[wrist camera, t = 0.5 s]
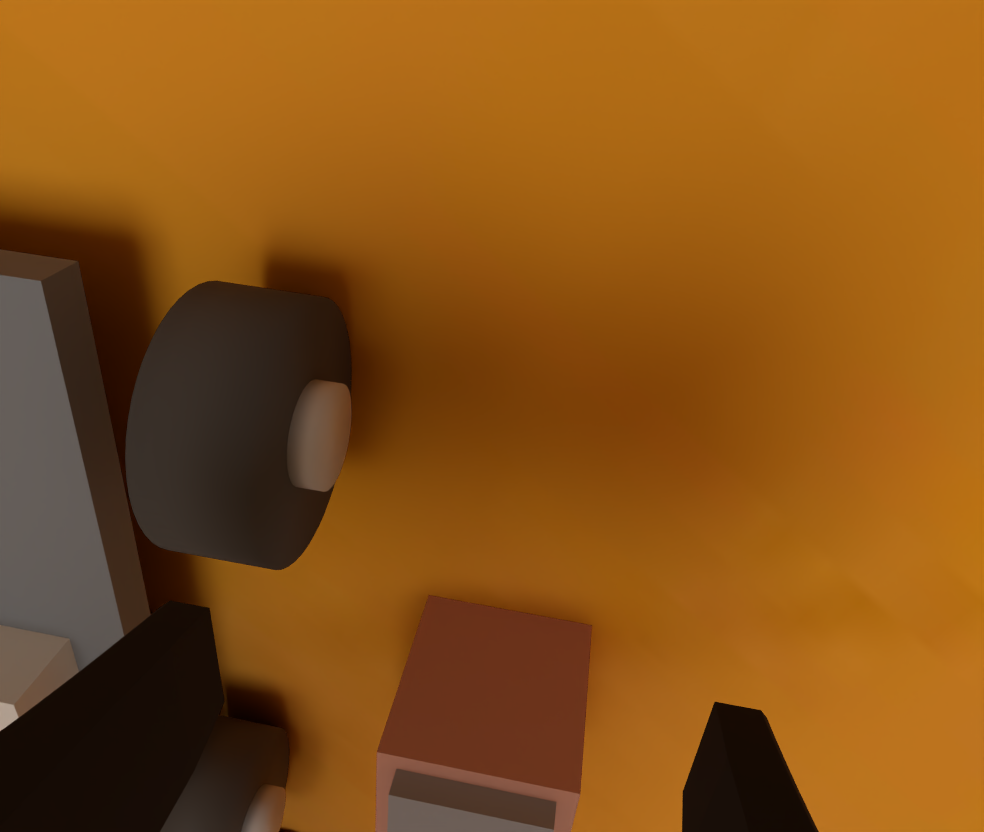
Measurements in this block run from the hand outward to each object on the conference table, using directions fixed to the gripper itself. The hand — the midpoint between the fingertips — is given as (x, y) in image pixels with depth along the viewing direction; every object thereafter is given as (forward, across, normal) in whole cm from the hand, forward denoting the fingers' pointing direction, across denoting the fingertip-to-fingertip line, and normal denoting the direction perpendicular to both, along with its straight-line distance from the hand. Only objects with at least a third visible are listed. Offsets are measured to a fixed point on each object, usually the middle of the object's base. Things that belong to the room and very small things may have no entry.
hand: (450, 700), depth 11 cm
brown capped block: (+10, 0, +10) cm, 14 cm away
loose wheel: (+10, +6, 0) cm, 11 cm away
